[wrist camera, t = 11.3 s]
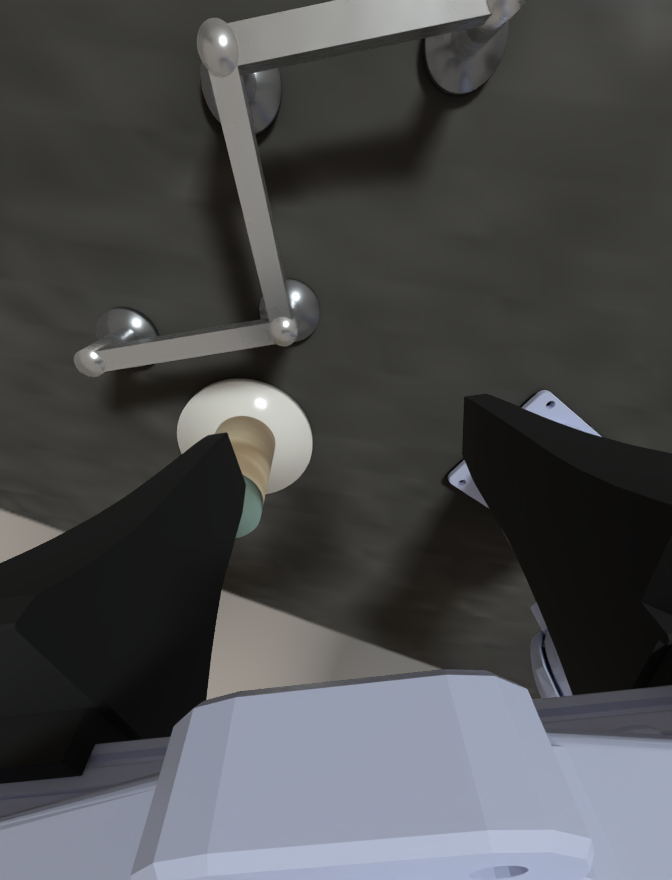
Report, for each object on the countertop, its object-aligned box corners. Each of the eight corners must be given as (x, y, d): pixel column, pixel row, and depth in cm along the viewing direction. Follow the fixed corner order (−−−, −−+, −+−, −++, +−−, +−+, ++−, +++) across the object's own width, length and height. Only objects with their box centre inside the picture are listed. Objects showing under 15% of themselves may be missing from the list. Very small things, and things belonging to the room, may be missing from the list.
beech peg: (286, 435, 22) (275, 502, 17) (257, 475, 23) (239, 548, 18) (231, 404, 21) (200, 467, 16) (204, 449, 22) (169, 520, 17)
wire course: (520, 30, 14) (586, -30, 10) (244, 429, 22) (229, 468, 19) (322, -236, 11) (322, -445, 7) (91, 343, 19) (42, 371, 16)
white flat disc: (338, 425, 22) (338, 430, 22) (270, 507, 26) (268, 513, 25) (218, 350, 20) (215, 354, 19) (159, 452, 23) (155, 457, 22)
